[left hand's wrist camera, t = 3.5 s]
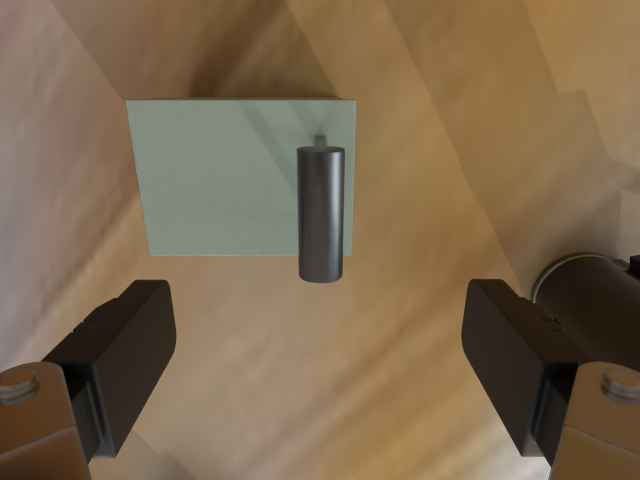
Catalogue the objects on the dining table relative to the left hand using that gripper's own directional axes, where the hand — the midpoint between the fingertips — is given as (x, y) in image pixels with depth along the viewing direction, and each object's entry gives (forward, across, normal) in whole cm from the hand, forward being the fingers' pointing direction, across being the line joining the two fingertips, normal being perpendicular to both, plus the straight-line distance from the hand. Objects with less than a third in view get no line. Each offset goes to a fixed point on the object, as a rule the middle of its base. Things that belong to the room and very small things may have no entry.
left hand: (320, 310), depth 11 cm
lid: (+17, -5, 0) cm, 18 cm away
